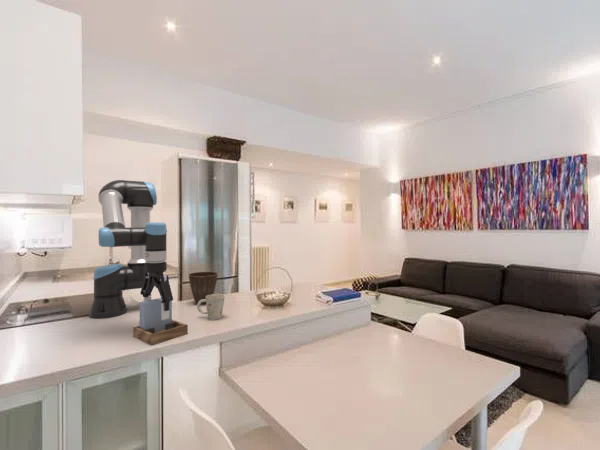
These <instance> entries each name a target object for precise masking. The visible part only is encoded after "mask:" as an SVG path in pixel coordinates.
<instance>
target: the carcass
mask: <svg viewBox="0 0 600 450" xmlns="http://www.w3.org/2000/svg"><path fill="white" fill-rule="evenodd" d="M188 327H189V324H186V323H184V322H182V321H177V320H174V319H172V322H171V323H167V324H166V330H162V331H159V332H155V328H154V327H152V328H149V329H145V330H143V329H140V325H137V326H133V328H132V329H133V331H132V333H133V334H132V336H133V338H135V339H137V340H140V341H142V342H143V343H146V344H148V345H150V344H151V345H150V346H154V345H157V344H160V343H163V342H167V341H170V340H172V339H176V338H178V337H182V336H184V335H188V330H189V329H188Z"/></svg>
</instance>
